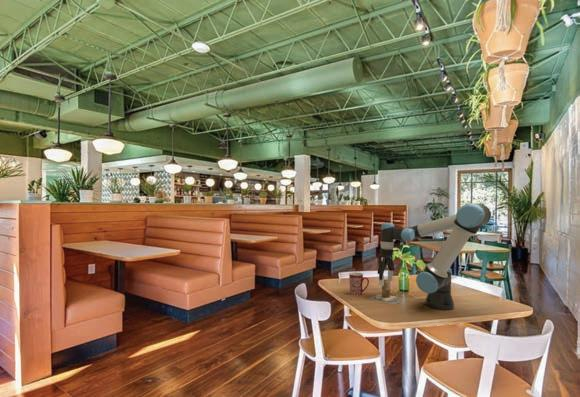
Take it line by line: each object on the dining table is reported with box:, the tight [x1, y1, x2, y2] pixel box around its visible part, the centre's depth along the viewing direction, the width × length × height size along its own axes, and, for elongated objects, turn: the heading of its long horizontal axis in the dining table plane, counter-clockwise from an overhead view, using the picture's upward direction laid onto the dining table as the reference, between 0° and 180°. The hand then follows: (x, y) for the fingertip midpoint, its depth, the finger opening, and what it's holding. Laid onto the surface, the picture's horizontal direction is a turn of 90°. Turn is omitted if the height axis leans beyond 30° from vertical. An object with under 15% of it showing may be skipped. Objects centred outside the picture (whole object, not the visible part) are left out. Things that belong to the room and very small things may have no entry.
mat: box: [368, 292, 404, 305], centre depth 195 cm, size 16×16×1 cm
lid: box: [375, 279, 397, 302], centre depth 195 cm, size 12×12×11 cm
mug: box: [348, 271, 370, 297], centre depth 203 cm, size 13×9×14 cm
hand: (385, 283), depth 196 cm, fingers open, 13 cm apart
